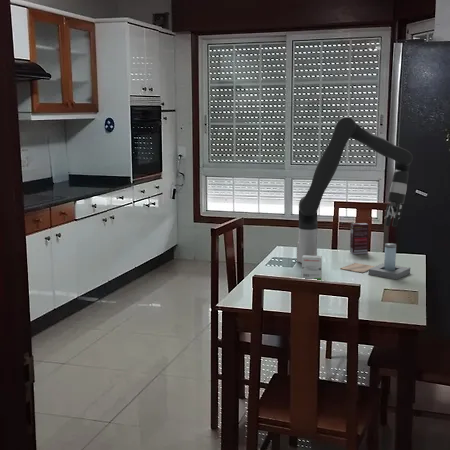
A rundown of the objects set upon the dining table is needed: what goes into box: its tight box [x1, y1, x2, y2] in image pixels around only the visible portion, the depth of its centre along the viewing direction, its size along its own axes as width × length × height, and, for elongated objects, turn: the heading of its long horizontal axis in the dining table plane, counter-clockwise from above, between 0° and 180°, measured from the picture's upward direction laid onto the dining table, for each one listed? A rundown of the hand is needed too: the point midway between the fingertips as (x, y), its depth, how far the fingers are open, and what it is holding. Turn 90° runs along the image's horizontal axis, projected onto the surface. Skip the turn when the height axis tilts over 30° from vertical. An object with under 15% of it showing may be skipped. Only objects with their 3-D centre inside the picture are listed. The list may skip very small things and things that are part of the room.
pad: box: [339, 262, 375, 274], centre depth 301 cm, size 12×14×1 cm
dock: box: [368, 263, 411, 280], centre depth 291 cm, size 14×14×2 cm
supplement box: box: [349, 222, 370, 255], centre depth 332 cm, size 9×5×16 cm, turn 98°
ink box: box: [301, 255, 323, 281], centre depth 277 cm, size 9×5×12 cm, turn 78°
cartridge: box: [383, 242, 397, 271], centre depth 290 cm, size 5×5×14 cm
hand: (390, 226), depth 296 cm, fingers open, 8 cm apart
